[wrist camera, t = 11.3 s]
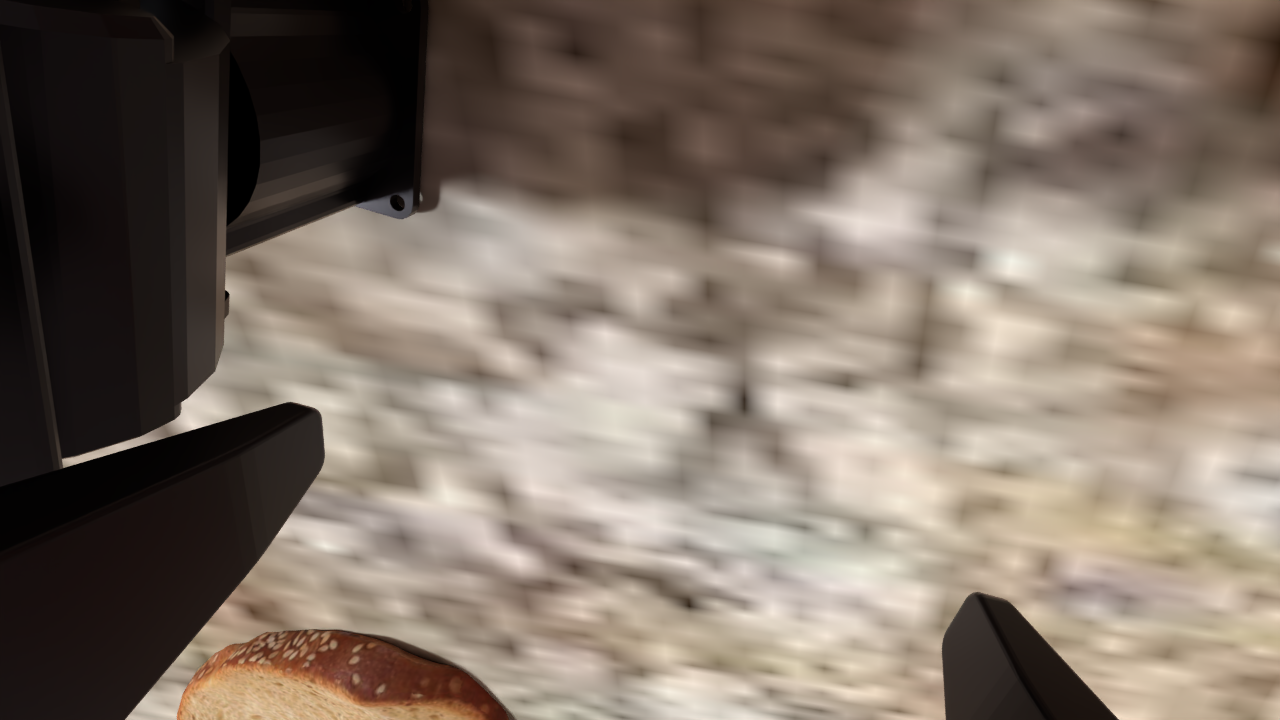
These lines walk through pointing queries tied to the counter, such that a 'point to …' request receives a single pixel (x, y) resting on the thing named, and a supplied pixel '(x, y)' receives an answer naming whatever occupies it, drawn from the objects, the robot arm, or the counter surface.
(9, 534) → the robot arm
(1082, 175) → the counter surface
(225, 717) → the slice of bread
